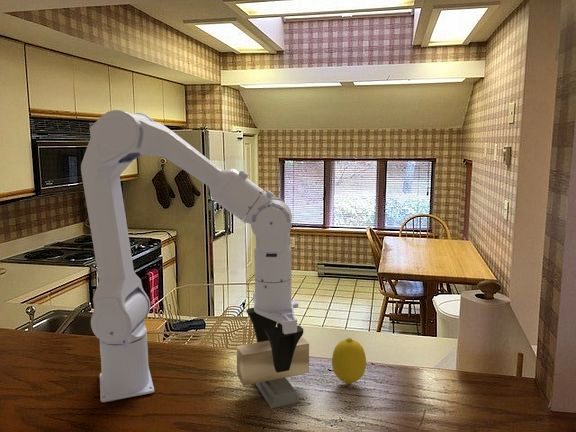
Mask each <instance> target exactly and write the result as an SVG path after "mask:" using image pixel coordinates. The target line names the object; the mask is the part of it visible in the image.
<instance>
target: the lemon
mask: <svg viewBox="0 0 576 432" xmlns="http://www.w3.org/2000/svg"><path fill="white" fill-rule="evenodd" d="M365 352H366V351H365V350H364V348H363V346H362V345H361V343H360V342H359V341H357V340H355V339H352V338H351V337H347V338H346V339H343V340H340V341H339V342H338V343H337V344H335V347H334V349H333V352H332V357H331V366H332V369H333V373H334V375H335V376H336V377H337V379H338V380H340V381H341V382H343V383H345V384H346V385H349V386H350V385H351V384H353V383H356V382H357V381H359V380H361V378H362V377H363V376H364V374H365V371H366V367H367V357H366V353H365Z"/></svg>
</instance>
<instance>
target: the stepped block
mask: <svg viewBox="0 0 576 432" xmlns="http://www.w3.org/2000/svg"><path fill="white" fill-rule="evenodd" d="M254 385H255V386H256V388H257V389H258V391H259V392H260V393H261V395H262V397H263V398H264V399H265V402H267V404H268V406H269V407H270V408H271V409H276V408H280V407H284V406H289V405H295V404H298V403H300V397H299V395H298V394H297V391H296V389H295V387H293V385H292V384H291V383H290V382H289V381H288V379H287V377H285V378H280V379H275V380H270V381H265V382H260V383H255V384H254Z"/></svg>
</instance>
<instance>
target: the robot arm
mask: <svg viewBox="0 0 576 432" xmlns="http://www.w3.org/2000/svg"><path fill="white" fill-rule="evenodd" d="M89 135H90V138H89V142H88V144H87V146H86V149H85V152H84V156H83V159H82V161H81V164H80V172H81V173H80V174H81V178H82V184H83V189H84V190H83V191H84V197H85V202H86V203H85V204H86V208H87V209H86V210H87V214H88V222H89V227H90V234H91V239H92V244H93V245H92V247H93V252H94V257H95V263H96V270H97V277H98V283H97V286H96V288H95V289H96V290H95V291H94V294H93V297H92V302H93V312H92V315H91V318H90V327H91V330H92V332H93V334H94V336H95V337H96V338H97V339H98V340H99V351H100V353H99V354H100V366H101V367H100V368H101V372H100V373H99V390H100V392H99V393H100V402H101V403H107V402H114V401H118V400H123V399H127V398H133V397H138V396H143V395H148V394H153V393H155V387H154V383H153V379H152V375H151V371H150V366H149V353H148V351H149V349H148V334H147V333H148V330H147V326H146V325H145V319H146V318H147V316H148V315H149V314H150V311H151V301H150V298H149V296H148V294H147V293H146V291H145V290H144V287H143V283H142V280H141V278H140V277H139V276H138V275H137V274H136V273H135V269H134V263H133V262H134V261H133V256H132V249H131V244H130V243H131V242H130V235H129V229H128V224H127V218H126V217H127V216H126V211H125V210H126V209H125V203H124V198H123V191H122V185H121V175H122V173H123V172H125V170H126V169H127V168H128V167H129V166H130V165H131V164H132V162H133V161H134V160H136V159H137V158H139V157H141V156H143V155H144V156H152V157H160V158H161V157H163V158H165V159H167V160H168V161H170V162H172V164H174V165H176V166H177V167H178V168H180V169H181V170H183V171H185V172H186V173H187V174H189V175H191V176H192V177H193V178H196V179H197V180H198V181H199V182H201V183H203V184H204V185H206V186H208V189H209V192H210V193H209V194H210V198H211V200H212V201H214V202H215V203H217V204H218V205H219V206H221V207H222V208H224V209H225V210H226V211H228V212H229V213H230V214H232V215H233V216H234V217H236V218H237V219H239V220H240V221H242V222H243V223H244V224H250V228H251V230H252V233H253V234H254V236H255V248H254V251H253V252H254V291H253V292H252V294H253V295H252V298H253V301H252V303H253V307H250V308H247V309H246V314H247V315H248V317H249V319H250V321H251V324H252V327H253V330H254V335H255V338H256V343H257V342H263V341H269V342H270V345H271V349H272V355H273V363H274V367H275V370H276V372H277V373H278V372H284V371H289V369H290V366H291V362H292V358H293V354H294V351H295V348H296V345H297V343H298V341H299V340H300V338H301V336H302V337H303V335H304V328H303V326H301V325H298V319H297V318H296V317H295V314H294V313H295V311H294V309H297V308H299V302H298V301H296V300H295V299H293V298H292V247H291V243H292V240H291V239H292V238H291V229H292V221H293V214H292V210H291V208H290V207H289V206H288V204H287V203H286V202H285V201H284V200H283V199H282V198H281V197H273V196H274V195H275V194H274V192H272V191H271V190H268V191H266V190H264V189H263V188H261V187H260V186H258V185H257V184H256V183H255V182H254V181H252V180H250V179H249V178H248V177H249V175H250V174H249V173H248V172H247V171H245V170H244V169H241V170H240V171H238V170H237V169H236V168H227V169H221V168H220V167H219V166H217V165H216V164H215V163H214V162H212V161H211V160H210V159H208V157H206V156H205V155H204V154H202V153H201V152H200V151H198V149H196V148H195V147H193V146H192V145H191V144H190V143H188V142H187V141H186V140H184V139H183V138H182V137H181V136H179V135H178V134H177V133H176V132H174V131H172V130H171V129H170V128H168V127H167V126H165V125H164V124H162V123H160V122H158V121H154V120H153V119H152V118H151V117H150V116H149V115H147V114H144V113H142V112H128V111H125V110H120V109H113V110H109V111H107V112H105V113H103V114H102V115H100V117H99V118H98V119H97V120H96V121H95V122H94V123H93V124H92V125H91V126H90V127H89Z"/></svg>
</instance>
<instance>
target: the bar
mask: <svg viewBox="0 0 576 432" xmlns="http://www.w3.org/2000/svg"><path fill="white" fill-rule="evenodd" d="M309 373H310V343H309V342H308V341H307V340H306V339H305V338H304V337H303V335H302V336H301V338H300V340H299V341H298V343H297V345H296V348H295V351H294V354H293V358H292V362H291V366H290V369H289V371H284V372H278V373H277V372H276V370H275V367H274V363H273V355H272V349H271V345H270V342H269V341H263V342H257V341H256V342H251V343H246V344H240V345H236V376H237V378H238V380H239V381H240V383H241V384H242V386H249V385H255V383H260V382H265V381H270V380H275V379H280V378H290V377H295V376H300V375H305V374H309Z"/></svg>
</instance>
